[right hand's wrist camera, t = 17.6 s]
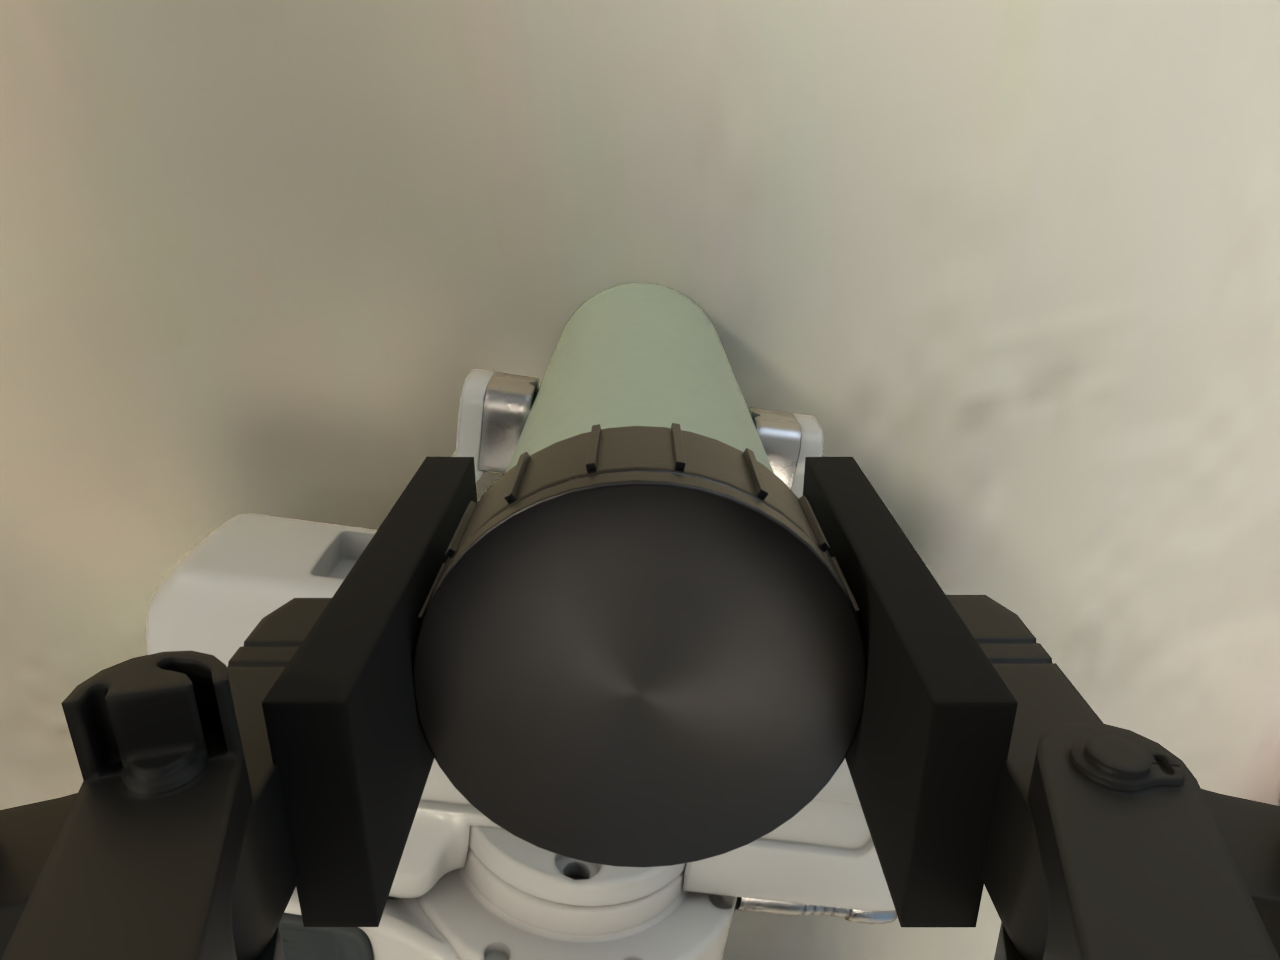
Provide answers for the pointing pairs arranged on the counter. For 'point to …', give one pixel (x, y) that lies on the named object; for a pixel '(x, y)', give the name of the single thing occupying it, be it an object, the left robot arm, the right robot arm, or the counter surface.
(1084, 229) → the counter surface
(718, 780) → the lid
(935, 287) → the counter surface
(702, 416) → the jar
